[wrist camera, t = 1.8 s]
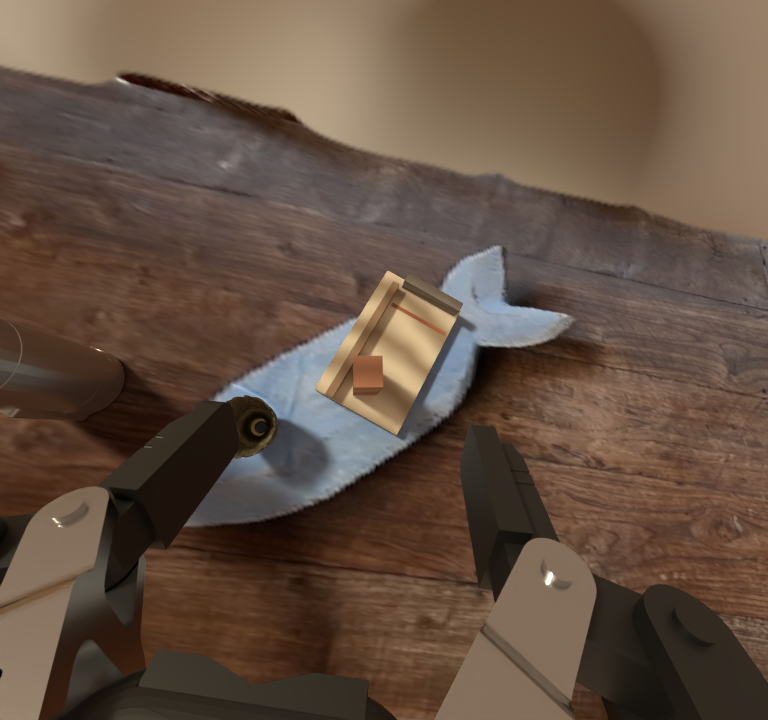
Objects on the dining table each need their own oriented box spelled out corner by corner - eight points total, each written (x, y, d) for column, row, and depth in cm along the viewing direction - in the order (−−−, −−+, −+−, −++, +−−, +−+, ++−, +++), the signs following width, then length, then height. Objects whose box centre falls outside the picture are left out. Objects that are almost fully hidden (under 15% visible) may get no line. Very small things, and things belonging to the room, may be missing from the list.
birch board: (395, 434, 46) (399, 435, 42) (315, 390, 46) (312, 386, 42) (457, 314, 52) (465, 304, 48) (386, 274, 52) (389, 262, 48)
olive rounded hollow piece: (227, 414, 44) (201, 410, 36) (276, 393, 45) (261, 385, 38) (244, 462, 43) (221, 469, 35) (294, 439, 44) (283, 441, 36)
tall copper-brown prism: (376, 395, 45) (383, 387, 37) (352, 395, 45) (353, 387, 36) (376, 364, 46) (382, 350, 38) (352, 364, 46) (353, 350, 38)
